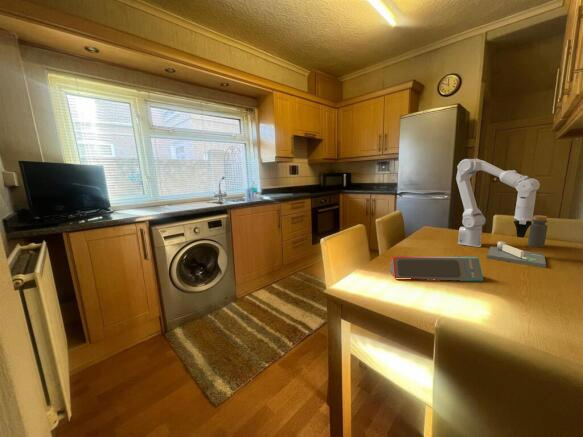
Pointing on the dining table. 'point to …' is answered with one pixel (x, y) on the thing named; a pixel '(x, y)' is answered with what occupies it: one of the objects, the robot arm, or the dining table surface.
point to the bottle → (538, 232)
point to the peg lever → (510, 249)
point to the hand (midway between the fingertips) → (520, 237)
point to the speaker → (437, 268)
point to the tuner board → (532, 257)
